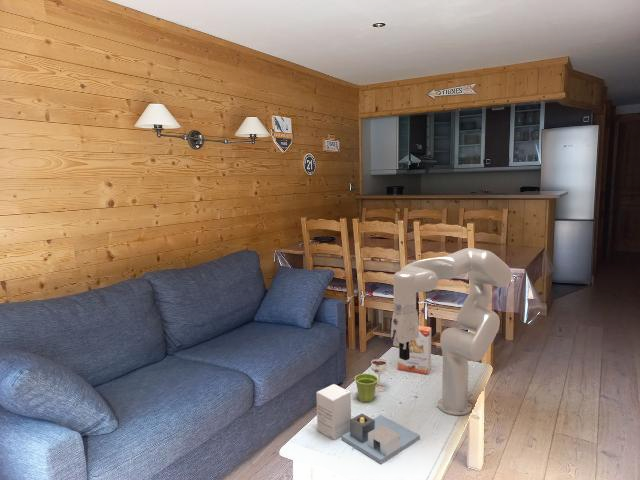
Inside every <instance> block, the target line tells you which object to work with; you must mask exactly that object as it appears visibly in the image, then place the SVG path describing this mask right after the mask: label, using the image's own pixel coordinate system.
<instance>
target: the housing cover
mask: <svg viewBox="0 0 640 480" xmlns="http://www.w3.org/2000/svg"><path fill="white" fill-rule="evenodd" d="M379 445H380V453H381V454H383V455H385V456H388V455H389V454H391V453H392V452H394V451H395V450H397V449H399V448H400V434H398V433H396V432H394V431H392V430H391V429H389V428H387V427H385V426H383V425H381V426H379V427H377V428H376V429H374V430H372V431H370V432H369V433H368V446H370V447H372V448H373V449H374V448H375V447H377V446H379Z"/></svg>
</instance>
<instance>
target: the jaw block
mask: <svg viewBox="0 0 640 480" xmlns="http://www.w3.org/2000/svg"><path fill="white" fill-rule="evenodd" d="M361 417H363V418H364V423H360V418H361ZM373 419H374V418H372V417H369V416H367V415H366V414H364V413H360V414H358V415H356V416H354V417H351V419H350V431H349V432H350V436H351V437H353V438H355V439H356V440H358V441H359V442H361V443H364V442H366V441H368V433H369V432H370V431H372V430H374V429H375V420H373Z"/></svg>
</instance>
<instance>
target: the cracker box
mask: <svg viewBox="0 0 640 480" xmlns="http://www.w3.org/2000/svg"><path fill="white" fill-rule="evenodd" d="M397 348H398V347H397ZM397 352H398V354H397V357H398V358H397V363H398V364H397V370H398V371H402V372H403V371H404V372H409V373H410V372H411V373H416V374H423V375H429V373H430V372H431V364H432V327H430V326H426V325H425V326H424V325H423V326H422V325H419V336H418V337H417V338H416V339H414V340H413V341H412V342H411V347H410V355H409V359H408V360H403V359H401V358H399V348H398V351H397Z"/></svg>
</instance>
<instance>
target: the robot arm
mask: <svg viewBox="0 0 640 480" xmlns="http://www.w3.org/2000/svg"><path fill="white" fill-rule="evenodd" d="M466 273H468V278H469V279H468V280H469V285H470V287H469V288H470V289H469V293H468V294H467V297H466V298H465V300H464V301H463V304H462V306H461V308H460V310H459V311H458V313H457V316H456V323H457V324H458V326H459V327H461V328H463V329H461V328H457V327H447V328H445V329H444V330H443V331H442V333H441V334H440V340H439V341H440V342H439V343H440V348H441V354H442V375H441V376H442V377H441V379H442V381H441V382H442V383H441V384H442V385H441V387H442V389H441V391H442V392H441V398H439V400H438V402H437V407H438V408H439V410H441V412H444V414H445V413H446V414H448V415H451V416H453V415H454V416H465V415H468V414H470V413H471V412H472V404H471V403H470V402H469V398H470V397H472V396H473V394H474V393H473V392H472V391H471V390H469V368H470V367H469V366H470V365H469V361H471V362H480V361H482V360H483V359H484V357H486V354H487V353H488V351H489V349H490V347H491V345H492V344H493V342H494V339H495V338H496V335H497V334H498V331H499V330H500V325H501V320H500V317H499V315H498V314H497V313H496V312H495V311H493V310H490V309H488V308H489V306H490V305H491V301H492V294H491V291H490V288H489V286H495V287H498V288H504V287H507V286H508V285H510V283H511V281H512V279H513V273H512V270H511V267H509V265H508V264H507V263H505V262H504V261H503V260H502V259H501V258H500V257H499V256H497V254H496V253H493V252H492V251H490V250H486V249H479V248H474V247H467V248H463V249H460V250H458V251H455V252H452V253H450V254H449V253H448V254H447V255H445V256H438V257H432V258H424V259H419V260H416V261H412V262H411V263H408V264H406V265H404V266H403V267H402V268H401V269H400V271H399V270H398V271H396V272H395V273H394V275H393V310H392V311H393V313H392V317H391V324H390V325H391V327H390V337H391V341H393V342H392V345H393V347H397V348H399V358H401V359H403V360H408V359H409V355H410V347H411V342H412V341H413V340H414V339H416V338H417V337H418V336H419V326H420V321H419V320H420V319H419V315H418V310H417V293H426V292H430V291H433V290H434V289H436V288H437V287H438V284H439V280H453V279H455V278H457V277H459V276H462V275H464V274H466ZM464 329H466V330H468V331H466V330H464ZM469 331H471V332H469ZM473 332H474V333H473Z"/></svg>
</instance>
